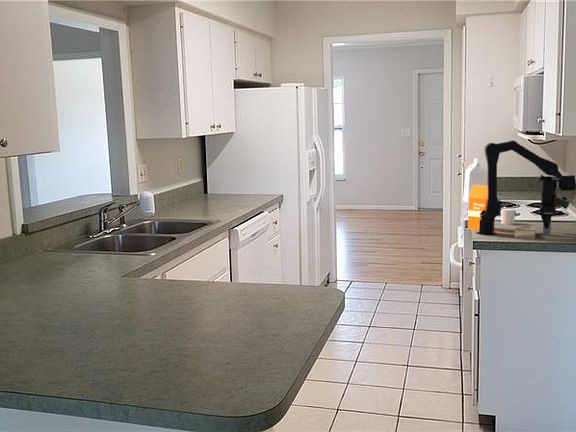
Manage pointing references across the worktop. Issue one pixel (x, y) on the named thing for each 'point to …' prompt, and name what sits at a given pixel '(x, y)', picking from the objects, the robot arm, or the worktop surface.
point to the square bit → (547, 230)
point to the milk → (474, 178)
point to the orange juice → (476, 205)
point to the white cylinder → (507, 216)
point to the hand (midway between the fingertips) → (546, 226)
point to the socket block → (525, 232)
